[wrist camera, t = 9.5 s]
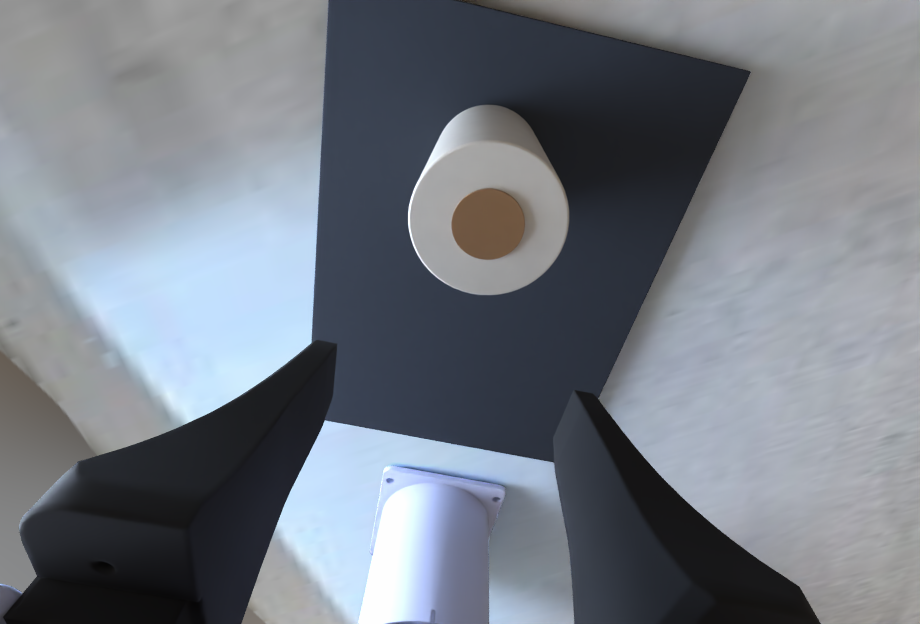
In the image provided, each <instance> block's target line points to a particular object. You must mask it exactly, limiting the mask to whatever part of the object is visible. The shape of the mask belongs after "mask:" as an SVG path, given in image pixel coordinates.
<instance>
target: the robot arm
mask: <svg viewBox="0 0 920 624" xmlns="http://www.w3.org/2000/svg"><path fill="white" fill-rule="evenodd" d="M336 356H337V343H332V342H327V341H322V340H315V341H314V342H312V343H311V344H310V345H309V346H308V347H306V348H305V349H304V350H303V351H301V352H300V353H299V354H298V355H297V356H295V357H294V358H293V359H292V360H290V361H289V362H288V363H287V364H285V365H284V366H283V367H281V368H280V369H279V370H277V371H276V372H274V373H273V374H272V375H270V376H269V377H268V378H266V379H265V380H263V381H262V382H260V383H259V384H257V385H256V386H254V387H253V388H251V389H250V390H248V391H247V392H245V393H244V394H242V395H241V396H239V397H237V398H236V399H234V400H232V401H231V402H229V403H227V404H225V405H224V406H222V407H220V408H218V409H216V410H215V411H213V412H211V413H209V414H207V415H205V416H202V417H200V418H198V419H196V420H194V421H192V422H189V423H187V424H185V425H183V426H181V427H178V428H176V429H174V430H171V431H169V432H166V433H164V434H161V435H159V436H156V437H154V438H151V439H148V440H145V441H143V442H140V443H137V444H134V445H131V446H128V447H125V448H122V449H119V450H116V451H112V452H109V453H106V454H102V455H99V456H96V457H92V458H89V459H86V460H82V461H78V462H77V463H76V464H75V465H74V466H73V467H72V468H71V469H69V470H68V471H67V472H66V473H65V474H64V475H63V476H62V477H61V478H60V479H59V480H58V481H57V482H56V483H55V484H54V485H53V486H52V487H51V488H50V489H49V490H48V491H47V492H46V493H45V494H44V495H43V496H42V497H41V498H40V500H39V501H37V503H36V504H35V505H34V506H33V507H32V508H31V509H30V510H29V511H28V512H27V513H26V514H25V515H24V516H23V517H22V519H21V522H20V525H19V531H20V536H21V540H22V543H23V546H24V548H25V550H26V552H27V554H28V557H29V559H30V561H31V563H32V566H33V568H34V570H35V572H36V575H37V577H36V578H35V579H34V581H33V582H32V583H31V584H30V586H29V587H28V588H27V589H26V590H25V591H24V593H23V594H22V593H21V592H20V591H19V590H18V589H16V588H14V587H12V586H9V585H5V584H1V583H0V624H241V623H242V620H243V617H244V614H245V611H246V608H247V606H248V603H249V600H250V597H251V594H252V591H253V588H254V586H255V583H256V580H257V577H258V574H259V571H260V568H261V566H262V563H263V560H264V558H265V555H266V552H267V549H268V547H269V544H270V541H271V538H272V536H273V533H274V530H275V528H276V525H277V522H278V520H279V517H280V515H281V512H282V509H283V507H284V504H285V502H286V500H287V497H288V495H289V493H290V491H291V489H292V487H293V485H294V483H295V481H296V479H297V477H298V475H299V473H300V471H301V469H302V467H303V465H304V463H305V461H306V459H307V457H308V455H309V453H310V451H311V449H312V446H313V444H314V442H315V440H316V438H317V436H318V434H319V432H320V430H321V428H322V426H323V423H324V421H325V418H326V415H327V412H328V409H329V406H330V403H331V401H332V398H333V390H334V379H335V367H336ZM553 444H554V465H555V473H556V479H557V485H558V490H559V496H560V501H561V506H562V512H563V517H564V522H565V528H566V533H567V539H568V546H569V553H570V564H571V576H572V589H573V605H574V622H575V624H821V623H820V622H819V620H818V618H817V616H816V615H815V613H814V611H813V609H812V608H811V606H810V604H809V602H808V601H807V599H806V597H805V595H804V594H803V592H802V590H801V589H800V587H799V586H797V585H796V584H794V583H793V582H791V581H790V580H788V579H787V578H785V577H784V576H782V575H781V574H779V573H778V572H776V571H775V570H773V569H772V568H770V567H769V566H767V565H766V564H764V563H763V562H761V561H760V560H758V559H757V558H756V557H754V556H753V555H751V554H750V553H749V552H747V551H746V550H745V549H743V548H742V547H741V546H739V545H738V544H737V543H735V542H734V541H733V540H731V539H730V538H729V537H727V536H726V535H725V534H724V533H722V532H721V531H720V530H719V529H717V528H716V527H715V526H714V525H713V524H711V523H710V522H709V521H708V520H707V519H706V518H704V517H703V516H702V515H701V514H700V513H699V512H697V511H696V510H695V509H694V508H693V507H692V506H691V505H690V504H688V503H687V502H686V501H685V500H684V499H683V498H682V497H681V496H680V495H679V494H678V493H677V492H676V491H675V490H674V489H673V488H672V487H671V486H670V485H669V484H668V483H667V482H666V481H665V480H664V479H663V478H662V477H661V476H660V475H659V474H658V473H657V472H656V471H655V469H654V468H653V467H652V466H651V465H650V464H649V463H648V462H647V460H646V459H645V458H644V457H643V456H642V455H641V453H640V452H639V451H638V450H637V449H636V448H635V446H634V445H633V444H632V443H631V441H630V440H629V439H628V438H627V436H626V435H625V434H624V433H623V431H622V430H621V429H620V427H619V426H618V425H617V424H616V422H615V421H614V420H613V418H612V417H611V416H610V414H609V413H608V412H607V410H606V409H605V408H604V407H603V405H602V404H601V403H600V401H599V400H598V399H597V398H596V396H595V395H594V394H593V393H588V392H583V391H578V390H573V393H572V395H571V397H570V400H569V402H568V404H567V407H566V409H565V411H564V414H563V416H562V418H561V421H560V423H559V426H558V428H557V430H556V433H555V435H554V437H553ZM505 496H506V489H505V487H503V486H501V485H497V484H492V483H486V482H480V481H475V480H469V479H464V478H458V477H453V476H447V475H442V474H436V473H430V472H425V471H419V470H414V469H408V468H403V467H397V466H387V467H386V468H385V469H384V473H383V478H382V484H381V490H380V495H379V501H378V507H377V512H376V518H375V524H374V529H373V535H372V541H371V546H370V554H371V555H372V556H373V557H372V562H371V567H370V571H369V576H368V580H367V585H366V589H365V594H364V598H363V603H362V608H361V612H360V617H359V621H358V624H489V537H490V535H491V532H492V529H493V527H494V524H495V522H496V519H497V517H498V514H499V511H500V509H501V506H502V504H503V501H504V499H505Z"/></svg>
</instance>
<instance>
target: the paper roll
mask: <svg viewBox="0 0 920 624" xmlns="http://www.w3.org/2000/svg"><path fill="white" fill-rule="evenodd" d="M408 226H409V232H410V237H411V240H412V243H413V246H414V249H415V251H416V253H417V255H418V256H419V258H420V259H421V261H422V263H423V264H424V265H425V266H426V267H427V269H428V270H429V271H430V272H431V273H432V274H433V275H435V276H436V277H437V278H438V279H440V280H441V281H442V282H444V283H445V284H447V285H449V286H451V287H453V288H455V289H458V290H460V291H463V292H467V293H471V294H477V295H498V294H504V293H509V292H512V291H515V290H518V289H520V288H522V287H524V286H527V285H528V284H530V283H532V282H533V281H535V280H536V279H537V278H539V277H540V276H541V275H542V274H544V273H545V272H546V271H547V270H548V269H549V267H550V266H551V265H552V264H553V263H554V261H555V260H556V259H557V257H558V255H559V253H560V252H561V250H562V247H563V245H564V243H565V240H566V236H567V233H568V227H569V206H568V200H567V196H566V193H565V190H564V188H563V185H562V183H561V181H560V179H559V177H558V176H557V174H556V172H555V170H554V168H553V166H552V165H551V163H550V161H549V159H548V157H547V156H546V154H545V152H544V150H543V148H542V146H541V145H540V143H539V141H538V139H537V137H536V136H535V134H534V132H533V130H532V129H531V127H530V126H529V124H528V123H527V122H526V121H525V120H524V119H523V118H522V117H521V116H520V115H518V114H517V113H515V112H514V111H512V110H510V109H508V108H505V107H502V106H497V105H480V106H475V107H472V108H469V109H467V110H464V111H463V112H461V113H460V114H458V115H457V116H455V117H454V118H453V119H452V120H451V121H450V122H449V123H448V124H447V126H446V127H445V128H444V130H443V132H442V133H441V135H440V137H439V139H438V141H437V143H436V145H435V147H434V149H433V151H432V153H431V155H430V157H429V160H428V162H427V164H426V166H425V168H424V170H423V172H422V174H421V176H420V178H419V180H418V182H417V184H416V186H415V188H414V191H413V194H412V196H411V200H410V205H409V212H408Z"/></svg>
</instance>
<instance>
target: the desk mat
mask: <svg viewBox="0 0 920 624" xmlns="http://www.w3.org/2000/svg"><path fill="white" fill-rule="evenodd" d="M750 73H751V72H750V71H747V70H743V69H739V68H735V67H730V66H726V65H722V64H718V63H714V62H710V61H706V60H702V59H697V58H693V57H689V56H685V55H681V54H677V53H673V52H669V51H664V50H660V49H656V48H652V47H648V46H644V45H640V44H636V43H632V42H627V41H623V40H619V39H615V38H611V37H607V36H603V35H599V34H594V33H590V32H586V31H582V30H578V29H574V28H570V27H566V26H561V25H557V24H553V23H549V22H545V21H541V20H537V19H533V18H529V17H524V16H520V15H516V14H512V13H508V12H504V11H500V10H496V9H491V8H487V7H483V6H479V5H475V4H471V3H467V2H463V1H458V0H329V4H328V24H327V44H326V64H325V84H324V104H323V124H322V144H321V164H320V184H319V204H318V224H317V244H316V264H315V284H314V304H313V324H312V342H314V341H315V340H322V341H327V342H332V343H337V356H336V367H335V379H334V390H333V398H332V401H331V403H330V406H329V409H328V412H327V415H326V418H325V420H327V421H332V422H337V423H343V424H348V425H354V426H359V427H365V428H370V429H375V430H381V431H386V432H392V433H397V434H403V435H408V436H413V437H419V438H424V439H430V440H435V441H441V442H446V443H451V444H457V445H462V446H468V447H473V448H479V449H484V450H490V451H495V452H500V453H506V454H511V455H517V456H522V457H528V458H533V459H538V460H544V461H549V462H554V444H553V437H554V435H555V433H556V430H557V428H558V426H559V423H560V421H561V418H562V416H563V414H564V411H565V409H566V407H567V404H568V402H569V400H570V397H571V395H572V393H573V390H578V391H583V392H588V393H593V394H594V395H595V396H596V398H597V399H598V398H599V396H600V394H601V391H602V389H603V387H604V385H605V383H606V381H607V379H608V376H609V374H610V372H611V370H612V368H613V366H614V364H615V361H616V359H617V357H618V355H619V353H620V351H621V349H622V347H623V344H624V342H625V340H626V338H627V336H628V334H629V332H630V329H631V327H632V325H633V323H634V321H635V319H636V317H637V314H638V312H639V310H640V308H641V306H642V304H643V302H644V299H645V297H646V295H647V293H648V291H649V289H650V287H651V285H652V282H653V280H654V278H655V276H656V274H657V272H658V270H659V267H660V265H661V263H662V261H663V259H664V257H665V255H666V252H667V250H668V248H669V246H670V244H671V242H672V240H673V238H674V235H675V233H676V231H677V229H678V227H679V225H680V223H681V220H682V218H683V216H684V214H685V212H686V210H687V208H688V205H689V203H690V201H691V199H692V197H693V195H694V193H695V191H696V188H697V186H698V184H699V182H700V180H701V178H702V176H703V173H704V171H705V169H706V167H707V165H708V163H709V161H710V158H711V156H712V154H713V152H714V150H715V148H716V146H717V143H718V141H719V139H720V137H721V135H722V133H723V131H724V129H725V126H726V124H727V122H728V120H729V118H730V116H731V114H732V111H733V109H734V107H735V105H736V103H737V101H738V99H739V96H740V94H741V92H742V90H743V88H744V86H745V84H746V82H747V79H748V77H749V75H750ZM480 105H497V106H502V107H505V108H508V109H510V110H512V111H514V112H515V113H517V114H518V115H520V116H521V117H522V118H523V119H524V120H525V121H526V122H527V123H528V124H529V126H530V127H531V129H532V130H533V132H534V134H535V136H536V137H537V139H538V141H539V143H540V145H541V146H542V148H543V150H544V152H545V154H546V156H547V157H548V159H549V161H550V163H551V165H552V166H553V168H554V170H555V172H556V174H557V176H558V177H559V179H560V181H561V183H562V185H563V188H564V190H565V193H566V196H567V200H568V206H569V227H568V233H567V236H566V240H565V243H564V245H563V247H562V250H561V252H560V253H559V255H558V257H557V259H556V260H555V261H554V263H553V264H552V265H551V266H550V267H549V269H548V270H547V271H546V272H545V273H544V274H542V275H541V276H540V277H539V278H537V279H536V280H535V281H533V282H532V283H530V284H528V285H527V286H524V287H522V288H520V289H518V290H515V291H512V292H509V293H504V294H498V295H477V294H471V293H467V292H463V291H460V290H458V289H455V288H453V287H451V286H449V285H447V284H445V283H444V282H442V281H441V280H440V279H438V278H437V277H436V276H435V275H433V274H432V273H431V272H430V271H429V270H428V269H427V267H426V266H425V265H424V264H423V263H422V261H421V259H420V258H419V256H418V255H417V253H416V251H415V249H414V246H413V243H412V240H411V237H410V232H409V226H408V212H409V205H410V200H411V196H412V194H413V191H414V188H415V186H416V184H417V182H418V180H419V178H420V176H421V174H422V172H423V170H424V168H425V166H426V164H427V162H428V160H429V157H430V155H431V153H432V151H433V149H434V147H435V145H436V143H437V141H438V139H439V137H440V135H441V133H442V132H443V130H444V128H445V127H446V126H447V124H448V123H449V122H450V121H451V120H452V119H453V118H454V117H455V116H457V115H458V114H460V113H461V112H463V111H464V110H467V109H469V108H472V107H475V106H480Z"/></svg>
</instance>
